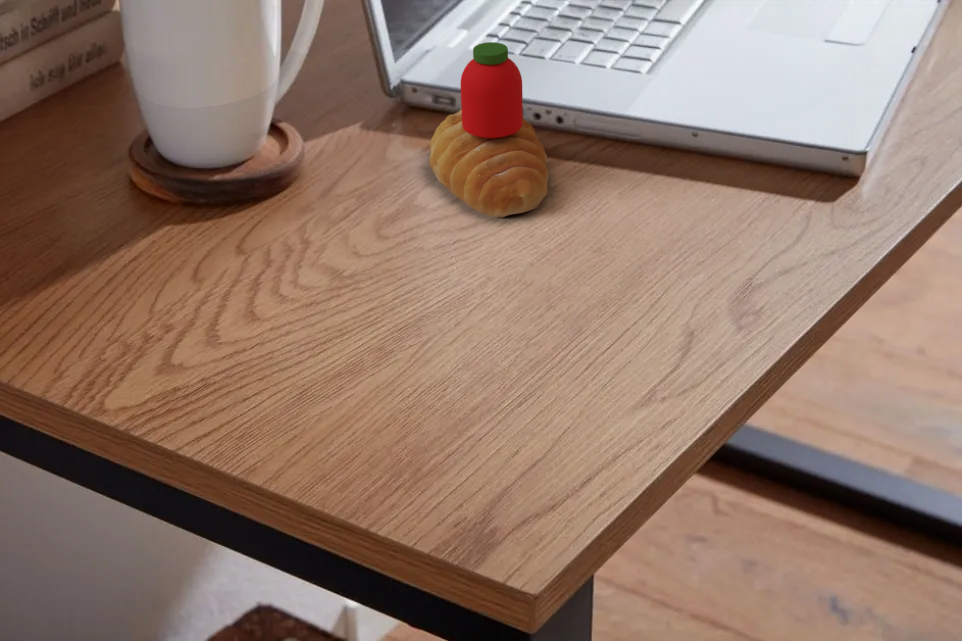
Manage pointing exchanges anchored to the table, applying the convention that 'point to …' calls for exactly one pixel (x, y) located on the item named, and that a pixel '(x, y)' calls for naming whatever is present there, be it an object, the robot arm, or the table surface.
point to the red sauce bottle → (491, 93)
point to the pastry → (490, 168)
